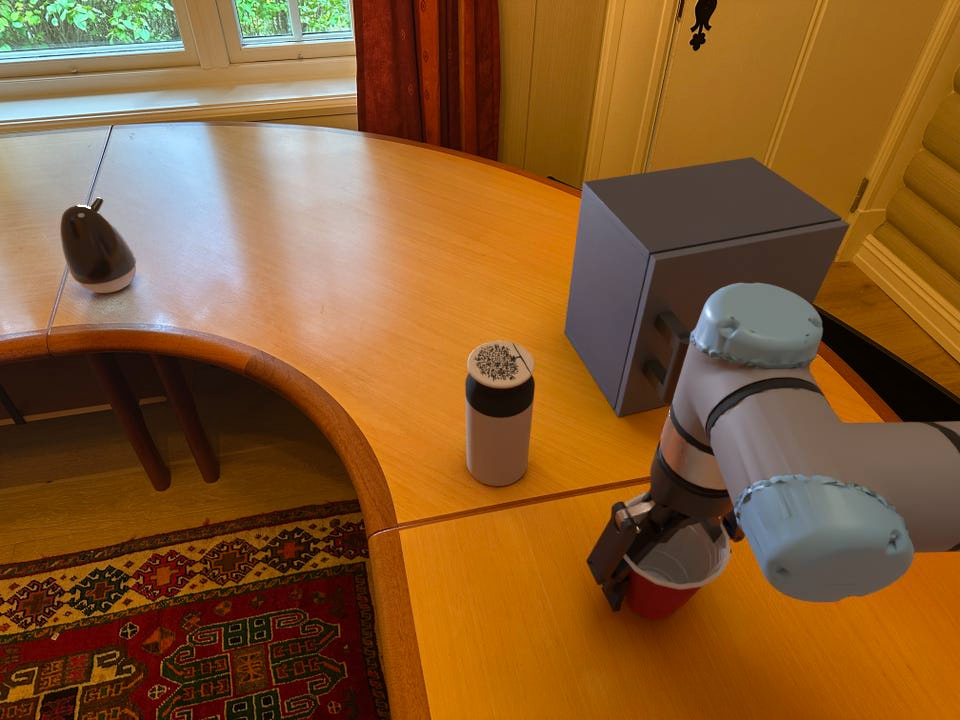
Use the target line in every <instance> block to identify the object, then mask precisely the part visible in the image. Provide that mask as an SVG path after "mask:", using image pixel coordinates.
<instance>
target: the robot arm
mask: <svg viewBox="0 0 960 720" xmlns="http://www.w3.org/2000/svg"><path fill="white" fill-rule="evenodd" d="M823 331H824V328H823V320H822V318H821V316H820V314H819V312H818V311H817V310H816V308H815V307H814V306H813V304H812V305H811V304H809V303H808V302H807V301H806V300H805V299H803V298H802V297H800V296H798V295H796V294H795V293H793V292H790V291H788V290H786V289H783V288H780V287H777V286H774V285H769V284H764V283H753V284H749V283H747V284H746V283H736V284H732V285H728V286H726V287H723V288H721V289H719V290H717V291H716V292H715V293H714V294H712V295H711V296H710V297H709V298H708V300H707V301H706V303H705V305H704V308H703V310H702V313H701V315H700V318H699V321H698V323H697V326H696V328H695V329H694V331H692V332H691V335H690V344H689V347H688V350H687V354H686V357H685V360H684V364H683V367H682V370H681V374H680V377H679V381H678V384H677V387H676V391H675V394H674V398H673V400H672V404H670V407H669V410H668V413H667V415H666V420H665V422H664V425H663V428H662V431H661V434H660V439H659V441H658V443H657V446H656V448H655V452H654V456H653V459H652V462H651V465H650V471H649V479H650V481H649V482H650V488H649V489H648V491H647V492H645V493H646V494H645V495H644V497H643V498H642V502H641V503H640V504H637V505H634V506H632V507H626V505H625V502H624V501H617V502H615V503H614V504H612V505H611V509H610V512H611V513H610V518H609V520H608V521H607V523H606V525H605V527H604V529H603V530H602V532H601V534H600V536H599V537H598V539H597V541H596V542H595V544H594V547H593V548H592V550H591V551H590V553H589V555H588V557H587V559H586V560H585V562H586V564H587V566H588V568H589V570H590V573H591V575H592V577H593V579H594V581H595V583H596V585H597V586H602V587H601V590H602V592H603V594H604V597H605V599H606V601H607V603H608V605H609V607H610V609H611V611H612V613H613V614H614V613H617V612H620V611H621V609H622V606H623V603H624V600H625V595H626V592H627V589H628V586H629V583H630V581H631V580H630V578H629V576H628V574H629V573H630V572H631V571H632V568H631V566H630V565H629V564H628V563H627V562H626V560H625V559H624V558H623V557H624V555H625V554H626V555H627V556H628V557H629V559H630V560H631V562H633V563H634V564H635V565H636V566H637V565H638V564H639V563H640V562H641V561H642V560H643V559H644V558H645V557H646V556H647V555H648V554H649V553H650V552H651V550H652V549H653V548H654V547H655V546H656V545H657V544H658V543H667V542H668V541H669V540H670V539H671V538H672V537H673V536H674V535H675V534H676V533H677V532H678V531H679V530H680V529H684V528H686V527H687V526H689V525H694V524H698V523H701V525H702V527H703V528H704V530H705V531H706V533H707V534H708V536H709V537H710V539H711V540H712V542H713V543H715V541H716V540H717V539H718V538H719V537H720V535H721V534H722V533H723V531H722V529H721V526H720V524H721V522H722V524H723V526H724V528H725V530H726V532H727V534H728V536H729V538H730V541H732V542H733V543H735V544H736V543H740V542H742V541H743V540H744V539H745V538H746V540H747V542H748V545H749V547H750V549H751V551H752V552H753V555H754V557H755V560H756V562H757V564H758V566H759V568H760V570H761V572H762V575H763V577H764V578H765V579H766V581H767V582H768V583H769V584H770V586H771V587H773V589H775V590H776V591H777V592H779V593H781V594H782V595H784V596H786V597H789V598H791V599H794V600H798V601H802V602H808V603H837V602H840V601H843V600H844V599H847V598H851V597H857V598H862V597H865V596H869V595H871V594H874V593H876V592H879V591H882V590H883V589H885V588H887V587H889V586H891V585H893V584H895V583H896V582H897V581H898V580H900V579H901V578H902V577H903V576H904V575H905V574H907V573H908V571H909V569H910V568H911V566H912V564H913V562H914V558H915V554H918V553H919V554H920V553H921V554H922V553H924V554H925V553H926V554H927V553H928V554H929V553H958V552H959V553H960V420H959V421H893V422H892V421H890V422H888V421H883V422H882V421H881V422H878V421H876V422H845V421H842V420H841V418H840V417H839V416H838V414H837V413H836V411H835V410H834V409H833V408H832V406H831V404H830V402H829V400H828V399H827V398H826V396H825V394H824V393H823V392H824V391H822V389H821V387H820V385H819V384H818V382H817V381H816V379H815V378H814V376H813V374H812V373H811V367H810V366H811V363H813V362H814V360H815V359H816V358H817V357H818V356H817V354H818V353H819V346H820V343H821V340H822V337H823V333H824V332H823ZM720 520H721V522H720ZM662 528H663V530H662ZM732 552H733V551H732V549H731V548H730V555H731V554H732Z"/></svg>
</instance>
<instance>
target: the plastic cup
mask: <svg viewBox="0 0 960 720" xmlns="http://www.w3.org/2000/svg"><path fill="white" fill-rule="evenodd" d="M646 493H647V492H642V493H640V494H638V495H636V496H635V497H634V496H633V498H630V499H628V500H627V501H626V502H624V504H625V505H626V507H632V506H634V505H637V504H640V503H641V502H642V498H643V497H644V495H645V494H646ZM720 522H721V520H720ZM720 526H721V529H722V531H723V533H722V534H721V535H720V537H719V538H718V539H717V540H716V541H715V543H713V542H712V540H711V539H710V537H709V536H708V534H707V533H706V531H705V530H704V528H703V527H702V525H701V523H698V524H694V525H689V526H687V527H686V528H684V529H680V530H679V531H678V532H677V533H676V534H675V535H674V536H673V537H672V538H671V539H670V540H669V541H668V542H667V543H658V544H657V545H656V546H655V547H654V548H653V549H652V550H651V552H650V553H649V554H648V555H647V556H646V557H645V558H644V559H643V560H642V561H641V562H640V563H639V564H638V565H637V566H636V565H635V564H634V563H633V562H631V560H630V559H629V557H628V556H627V555H626V554H625V555H624V557H623V558H624V559H625V560H626V562H627V563H628V564H629V565H630V566H631V568H632V571H631V572H630V573H629V574H628V576H629V578H630V580H631V581H630V583H629V586H628V589H627V592H626V595H625V597H624V600H625V602H626V603H627V605H628V606H629V608H630V609H631V610H632V611H633V612H634V613H636V614H637V615H638V616H640V617H641V618H644V619H648V620H652V621H658V620H664V619H666V618H668V617H670V616H671V615H673V614H675V613H676V612H677V611H678V610H679V609H680V608H681V607H682V606H685V605H686V603H688V601H689V600H691V598H692V597H694V595H696V594H697V592H698V591H700V589H701V588H703V587H705V586H706V585H708V584H709V583H712V581H714V580H715V579H717V578H719V577H720V576H721V575H722V574H723V573H724V571H725V569H726V567H727V565H728V563H729V561H730V559H731V554H730V549H731V540H730V538H729V536H728V534H727V532H726V530H725V528H724V526H723V524H722V522H721V524H720ZM662 530H663V528H662Z"/></svg>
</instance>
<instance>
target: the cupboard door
mask: <svg viewBox="0 0 960 720" xmlns="http://www.w3.org/2000/svg"><path fill="white" fill-rule="evenodd" d="M850 226H851V224H850V223H848V222H847V221H846V220H844V219H841V220H840V221H835V222H829V223H824V224H818V225H813V226H807V227H802V228H796V229H791V230H785V231H780V232H774V233H769V234H763V235H758V236H752V237H746V238H741V239H735V240H730V241H724V242H719V243H713V244H708V245H702V246H697V247H691V248H686V249H680V250H675V251H669V252H663V253H658V254H652V255H651V256H650V261H649V265H648V269H647V274H646V278H645V283H644V287H643V291H642V296H641V300H640V304H639V309H638V313H637V317H636V322H635V326H634V331H633V335H632V339H631V344H630V348H629V352H628V357H627V361H626V365H625V370H624V374H623V379H622V383H621V387H620V392H619V396H618V400H617V405H616V409H615V410H614V412H615V413H616V415H617V417H618V418H621V417H625V416H628V415H633V414H637V413H642V412H644V411H650V410H653V409H658V408H661V407H662V408H663V407H666V406H669V405H670V406H671V404H672V400H673V398H674V394H675V391H676V387H677V384H678V381H679V377H680V374H681V370H682V367H683V364H684V360H685V357H686V354H687V350H688V347H689V344H690V335H691V332H692V331H694V329H695V328H696V326H697V323H698V321H699V318H700V315H701V313H702V310H703V308H704V305H705V303H706V301H707V300H708V298H709V297H710V296H711V295H712V294H714V293H715V292H716V291H717V290H719V289H721V288H723V287H726V286H728V285H732V284H736V283H746V284H747V283H749V284H753V283H764V284H769V285H774V286H777V287H780V288H783V289H786V290H788V291H790V292H793V293H795V294H796V295H798V296H800V297H802V298H803V299H805V300H806V301H807V302H808V303H809V304H811V305H812V306H813V304H814V302H815V300H816V298H817V296H818V293H819V292H820V289H821V287H822V286H823V283H824V281H825V280H826V277H827V275H828V273H829V270H830V268H831V266H832V265H833V262H834V260H835V258H836V256H837V254H838V251H839V250H840V247H841V245H842V243H843V241H844V239H845V236H846V235H847V232H848V230H849V228H850Z"/></svg>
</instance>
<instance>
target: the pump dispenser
mask: <svg viewBox="0 0 960 720" xmlns="http://www.w3.org/2000/svg"><path fill="white" fill-rule="evenodd" d="M103 199H104V198H102V197H96V198H95V200H94V201H93V202H92V204H91V205H90V206H87V205H83V204H81V205H80V204H77V205H76V204H75V205H72V206H70V207H68V208H67V209H66V210H64V212H63V213H62V216H61V219H60V224H59V225H60V226H59V231H60V243H61V249H62V254H63V257H64V260H65V263H66V265H67V268H68V271H69V273H70V275H71V277H72V278H73V280H74V281H76V282H78V283H79V284H80V286H82V287H84V288H85V289H87V290H88V291H91V292H94V293H100V294H109V293H113V292H118V291H120V290H122V289H124V288H125V287H127V286H129V284H131V283H132V281H133V280H134V278H135V276H136V271H137V265H136V264H137V258H136V256H135V253H134V252H133V250H132V248H131V247H130V245H129V244H128V242H127V241H126V240H125V238H124V237H123V236H122V234H121V233H120V232H119V230H118V229H117V228H116V227H115V226H114V225H113V224H112V223H111V222H110V221H109V220H108V219H107V218H106V217H105V216H104V215H103V214H101V213H100V210H101V208H102V205H103V204H104V200H103Z"/></svg>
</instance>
